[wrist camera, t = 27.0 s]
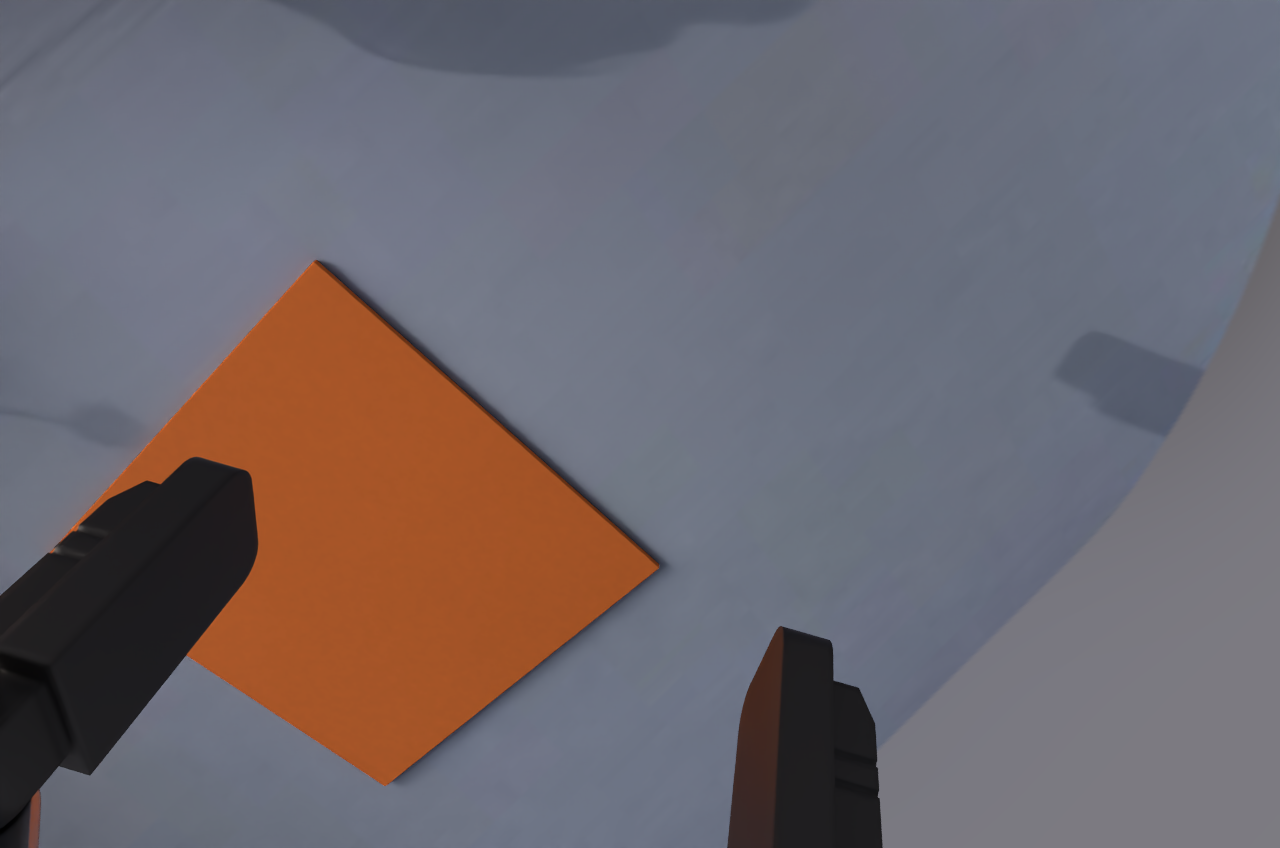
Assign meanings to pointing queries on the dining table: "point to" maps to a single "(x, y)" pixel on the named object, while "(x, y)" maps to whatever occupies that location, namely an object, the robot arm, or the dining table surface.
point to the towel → (382, 533)
